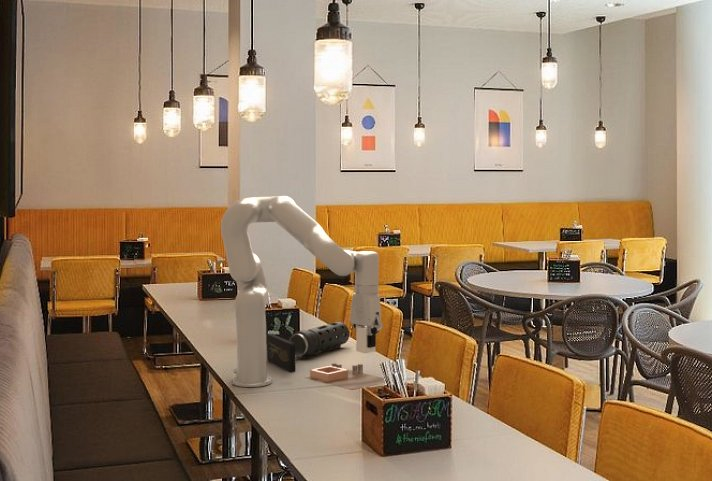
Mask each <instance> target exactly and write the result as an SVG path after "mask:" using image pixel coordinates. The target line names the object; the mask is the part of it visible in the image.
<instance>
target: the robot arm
mask: <svg viewBox="0 0 712 481" xmlns="http://www.w3.org/2000/svg"><path fill="white" fill-rule="evenodd" d="M255 223H276V224H277V225H279V226H280V227H281V228H282V229H284V230H285V232H287V234H289V235H290V236H292V237H293V238H294V239H295V240H296V241H298V243H299V244H301V245H302V246H303V247H304V248H305V249H306V250H307V251H308V252H310V253H311V254H312V256H314V257H315V258H316V259H317V260H318V261H320V262H321V264H323V265H324V266H326V267H327V268H328V269H329V270H330V271H331V272H333V273H334V274H335V275H337V276H340V277H345V276H349V275H350V274H351V273H354V286H353V287H354V293H353V294H352V297H351V298H352V299H351V304H350V320H349V322H350V324H351V325H352V326H353V328H354V331H355V332H354V333H356V331H357V327H358V326H368V332H369V335H367V347H368V348H371V347H375V346H376V345H377V342H376V340H377V338H376V336H377V335H378V333H379V332H380V330H382V329H383V327H384V325H383V323H382V320H381V319H382V309H381V298H380V294H379V271H380V268H379V267H380V266H379V264H380V261H379V259H380V258H379V257H380V256H379V254H378V252H376V251H373V250H371V251H370V250H369V251H368V250H367V251H366V250H362V251H355V250H349V249H343V248H342V247H341V246H339V245H338V244H337V243H336V242H335V241H334V240H333V239H332V238H331V237H330V236H329V235H328V234H327V233H326V231H325V230H324V229H323V227H322V226H321V225H320V224H319V223H318V222H317V221H316V220H315V219H313V218H312V217H311V216H310V215H309V214H307V212H305V211H304V210H303V209H302V208H301V207H299V205H298V204H296V202H295V200H293V198H291V197H290V196H287V195H280V196H279V195H277V196H276V195H275V196H252V197H251V196H250V197H243V198H240V199H237V200H236V201H235V202H233V203H232V204H230V206H229V207H228V208H227V209H226V210H225V211H224V213H223V215H222V218H221V222H220V233H221V238H222V243H223V247H224V252H225V256H226V260H227V265H228V271H229V274H230V276H231V278H232V279H233V280H234V281H235V282H236V286H237V289H238V292H237V295H236V296H235V301H234V311H235V312H234V313H235V324H236V325H235V326H236V330H235V331H236V368H234V369H233V370H232V373H233V374H236V377H235V378H234V379H233V380H232V385H234V386H236V387H239V388H240V387H241V388H257V387H264V386H268V385H270V384H272V382H273V378H272V377H271V376H268V361H267V321H266V320H267V319H266V306H267V304H268V301H269V291H268V285H267V282H266V278H265V274H264V270H263V265H262V262H261V259H260V258H259V257H258V255H257V254H255V253H254V251H253V248H252V244H251V239H250V234H249V232H248V227H249V225H250V224H251V225H252V224H255ZM372 327H373V330H372Z"/></svg>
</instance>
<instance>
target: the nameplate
mask: <svg viewBox="0 0 712 481" xmlns="http://www.w3.org/2000/svg"><path fill="white" fill-rule="evenodd" d="M266 345H267V363H270V364H272V365H275V366H276V367H278V368H280V369H282V370H285V371H286V372H289V373H291V372H292V373H293V372H296V356H295V344H294V343H293V342H291V341H289V340H287V339H286V338H283V337H280V336H279V335H276V334H274V333H269V334H266Z"/></svg>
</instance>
